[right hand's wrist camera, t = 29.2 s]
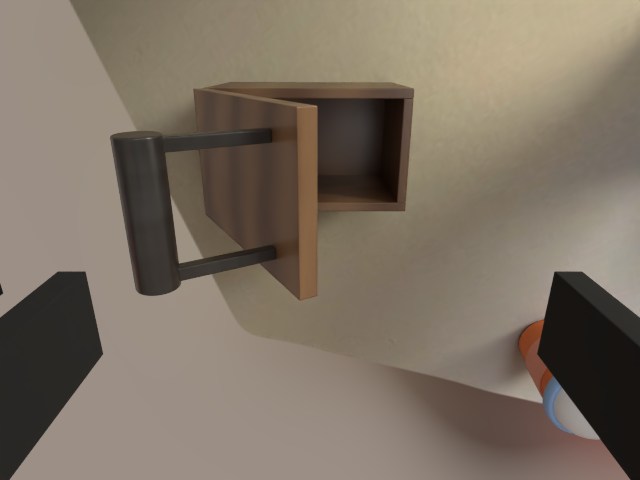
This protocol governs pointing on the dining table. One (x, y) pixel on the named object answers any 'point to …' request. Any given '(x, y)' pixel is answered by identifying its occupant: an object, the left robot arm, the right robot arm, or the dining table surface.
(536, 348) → the cup with straw
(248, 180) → the lid
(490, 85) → the dining table surface
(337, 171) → the chest
